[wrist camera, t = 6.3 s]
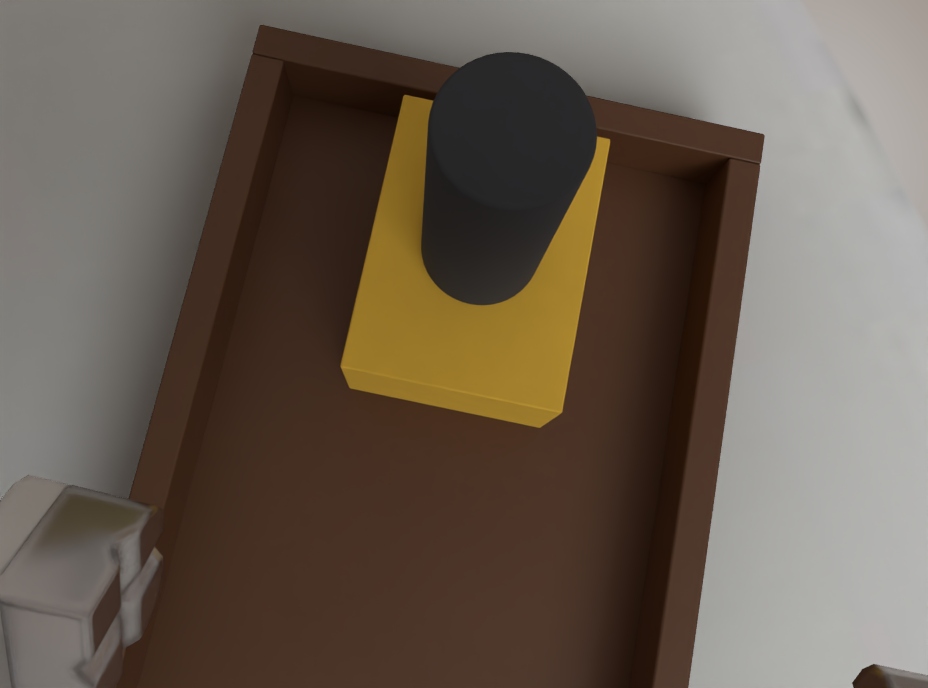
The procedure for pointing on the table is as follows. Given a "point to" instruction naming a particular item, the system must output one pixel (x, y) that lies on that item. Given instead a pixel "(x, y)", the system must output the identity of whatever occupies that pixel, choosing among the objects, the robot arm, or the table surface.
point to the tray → (435, 420)
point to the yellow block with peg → (481, 244)
